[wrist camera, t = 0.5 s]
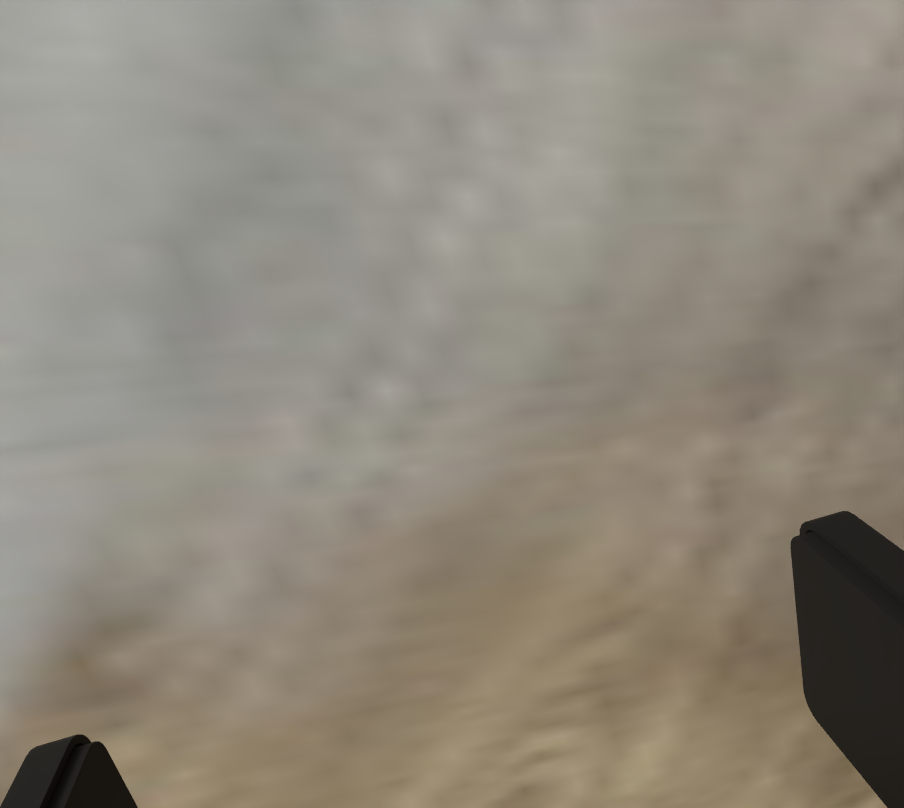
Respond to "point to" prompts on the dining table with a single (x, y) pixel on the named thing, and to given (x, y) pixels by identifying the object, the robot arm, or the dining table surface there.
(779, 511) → the dining table surface
